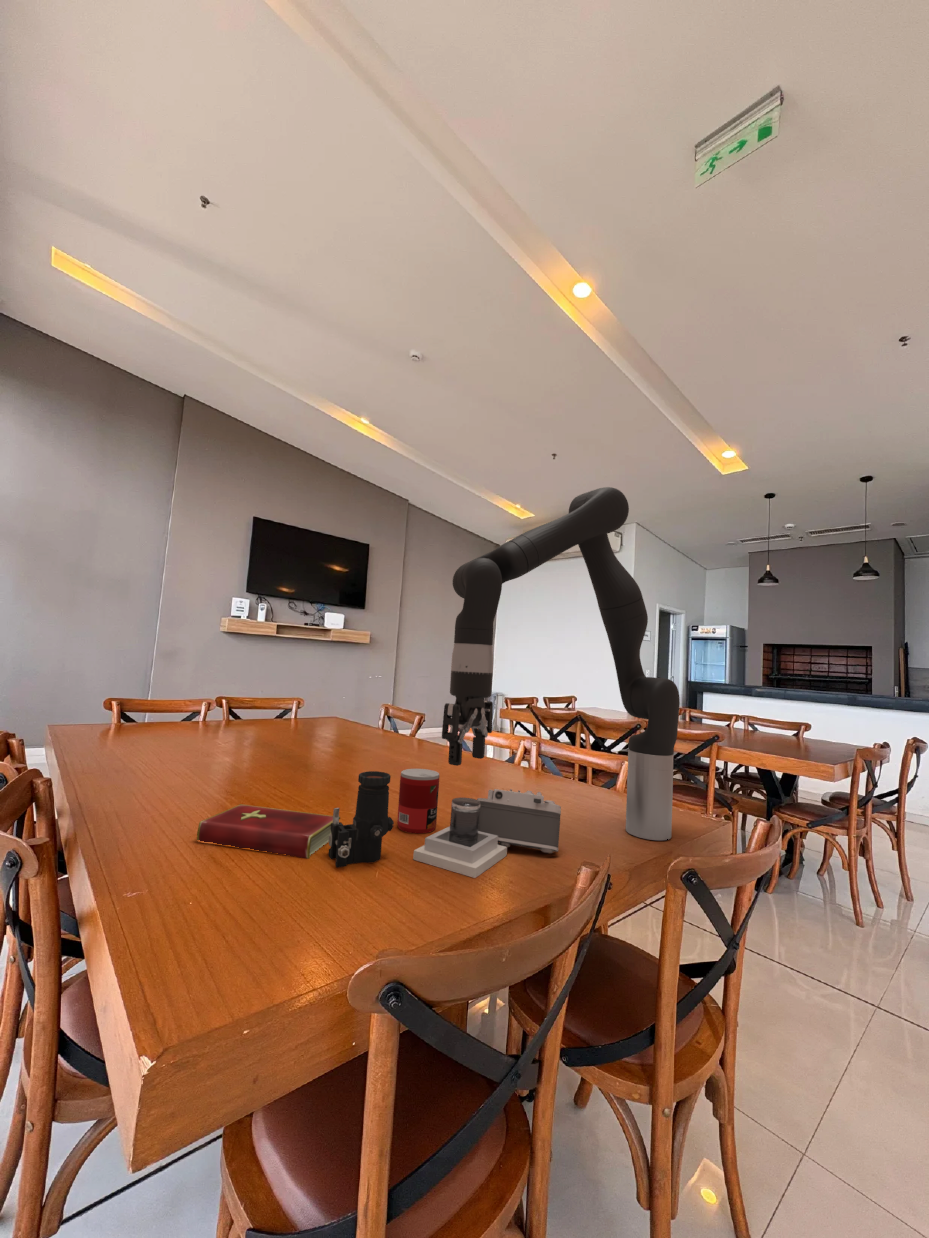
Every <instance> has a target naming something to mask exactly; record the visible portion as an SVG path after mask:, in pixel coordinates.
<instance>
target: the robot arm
mask: <svg viewBox="0 0 929 1238" xmlns="http://www.w3.org/2000/svg"><path fill="white" fill-rule="evenodd" d="M629 507H630V506H629V501H628V499H627V497H626V495H625V494H624V493H623V492H622V491H621V490H620V489H618V488H614V487H610V486H605V487H600V488H596V489H593V490H590V491H588V492H583V493H582V494H579V495H576V496H575V497H574V498H573V499H572V500H571V502H570V505H569V509H568V513H567V514H565V515H562V516H561V517H557V519H554V520H551V521H549V522H547V523H544V524H541V525H539V526H536V527H534V528H531V529H529V530H528V531H526V532H523V533H521V534H519V535H518V536H515V537H513V538H512V539H510V540H508V541H506V542H504V543H503V544H501V545H500V546H499V547H497V548H495V549H493V550H491V551H489V552H487V553H485V554H482V555H480V556H478V557H476V558H473V559H472V560H470V561H468V562H465V563H464V564H461V565H460V566H459V567H458V568H457V569H456V570H455V572H454V573H453V577H452V588H453V591H454V592H455V593H456V594H457V595H458V596H459V597H460V598H461V599H463V604H462V609H461V611H460V612H459V613H458V614H457V616H456V618H455V622H454V636H453V637H454V638H453V649H452V653H451V663H450V664H451V665H450V667H451V668H450V682H449V686H450V687H449V693H450V695H451V696H453V697H455V702H454V703H450V702H449V703H447V702H446V703H445V704H444V708H443V717H442V719H443V720H442V727H441V728H442V729H441V739H443V740H446V741H447V742H448V745H449V746H448V758H447V759H448V764H449V765H450V766H461V764H462V761H463V760H462V758H463V741H464V738H465V736H466V734H468V733H469V732H470V730H471V731H472V734H473V738H472V751H471V752H472V753H471V757H472V758H474V759H481V760H482V759H484V758H485V751H486V750H485V749H486V738H487V737H488V734H492V732H493V717H494V715H493V713H494V712H493V711H494V710H493V709H494V708H493V707H494V702H493V701H490V700H485V699H486V698H490V697H491V696H492V693H493V692H492V691H493V690H492V689H493V675H494V674H493V672H494V671H493V670H494V653H493V652H494V651H493V646H494V645H493V644H494V621H495V618H496V615H497V611H498V609H499V603H500V599H501V595H502V589H503V584H504V583H506V582H509V581H511V580H512V581H513V580H515V579H517V578H520V577H523V576H525V575H527V574H528V573H530V572H532V571H533V570H535V569H536V568H539V567H540V566H542V565H543V564H544V563H546V562H548V561H551V560H552V559H554V558H555V557H557V556H559V555H560V554H562V553H565V552H566V551H568V550H569V549H572V548H573V547H576V546H578V547H579V550H580V553H581V555H582V558H583V560H584V563H585V565H586V569H587V572H588V574H589V575H588V576H589V578H590V581H591V585H592V588H593V590H594V593H595V597H596V601H597V606H598V609H599V612H600V617H601V620H602V622H603V626H604V628H605V632H606V636H607V638H608V643H609V645H610V650H611V655H612V657H613V661H614V662H613V663H614V667H615V671H616V677H617V682H618V689H619V694H620V697H621V701H622V704H623V708H624V709H625V711H626V712H627V714H629V716H631V717H634V718H637V719H642V720H647V726H646V729H645V730H644V731H643V732H642V731H641V732H640V733H638V734H633V735H631V736H630V737H629V739H628V744H627V745H628V750H627V751H628V752H627V774H626V775H627V776H626V777H627V779H626V781H627V782H626V804H625V805H626V807H625V809H626V810H625V832H626V833H628V834H629V835H632V836H634V837H637V838H640V839H644V840H648V841H649V840H651V841H668V840H670V839H671V838H672V831H673V830H672V827H673V826H672V825H673V823H672V822H673V796H674V795H673V792H674V791H673V790H674V787H673V786H674V751H675V745H676V742H677V738H678V729H679V718H680V717H679V716H680V705H681V703H680V700H681V699H680V692H679V689H678V686H677V685H676V683H675V682H674V681H673V680H672V679H668V678H664V677H652V676H650V677H649V676H646V675H645V672H644V669H643V666H642V661H641V648H642V644H643V641H644V637H645V635H646V632H647V627H648V622H649V621H648V620H649V618H648V611H647V607H646V604H645V600H644V598H643V594H642V591H641V588H640V586H639V584H638V583H637V581H636V580H635V578H634V577H633V576H632V575H631V574H630V573H629V571H628V570H627V569H626V568H625V567H624V566H623V564H622V563H621V562H620V561H619V559H618V558H617V557H616V554H615V552H614V550H613V548H612V546H611V543H610V540H609V539H610V538H609V534H611V533H613V532H615V531H617V530H619V529H620V528H621V527H622V526H623V525H624V524H625V523H626V521H627V519H628V516H629V514H630V513H629V511H630V508H629ZM449 728H450V730H449ZM667 839H668V840H667Z"/></svg>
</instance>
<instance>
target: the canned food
mask: <svg viewBox="0 0 929 1238" xmlns="http://www.w3.org/2000/svg"><path fill="white" fill-rule="evenodd" d="M439 789H440V772H438V771H436V770H432V769H427V768H407V769H404V770H401V772H400V779H399V789H398V790H399V793H398V804H397V805H398V806H397V807H398V808H397V809H398V810H397V818H396V819H397V821H396V822H397V827H398V829H399V830H400V831H403V832H405V833H409V834H414V835H415V834H429V833H431V832H434V831H435V830H436V827H437V820H438V819H437V817H438V802H439Z"/></svg>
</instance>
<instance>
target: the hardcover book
mask: <svg viewBox="0 0 929 1238" xmlns="http://www.w3.org/2000/svg"><path fill="white" fill-rule="evenodd" d="M339 820H341V816H339ZM331 823H333V815H330V814H329V815H328V814H322V813H321V814H320V813H315V812H314V813H312V812H305V811H297V810H290V809H283V808H282V809H280V808H273V807H268V806H267V807H265V806H259V805H258V806H257V805H249V804H244V803H243V804H242V803H240V804H238V805H235V806H233V807H231V808H229V809H226V810H224V811H221V812H218V813H217V814H215V815H212V816H210V817H208V818H205V819H203V820H201V821H199V823H198V826H197V831H196V832H197V833H196V841H197V840H200V841H204V842H213V843H217V844H222V845H231V846H235V847H239V848H250V849H254V850H259V851H267V852H272V853H271V854H273V853H278V854H277V855H280V854H286V855H285V856H287V855H290V856H289V857H294V856H296V857H295V858H301V857H302V858H301V859H308V860H309V859H310V858H311V856H312V855H313V854H314V853H316V852H317V851H318V850H319V848H320V849H321V848H322V847H324V846H325V845H327V843H328V844H329V835H330V834H331ZM323 845H324V846H323ZM239 848H238V849H239ZM259 851H258V852H259ZM315 851H316V852H315ZM311 854H312V855H311Z"/></svg>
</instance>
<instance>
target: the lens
mask: <svg viewBox="0 0 929 1238" xmlns="http://www.w3.org/2000/svg"><path fill="white" fill-rule="evenodd" d="M479 814H480V801H478V800H477V798H476V799H475V798H470V797H455V798H452V799H451V812H450V822H449V826H450V832H449V842H453V843H456V844H460V845H464V846H467V847H471V846H473V845H475V844H477V839H478V826H479Z"/></svg>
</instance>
